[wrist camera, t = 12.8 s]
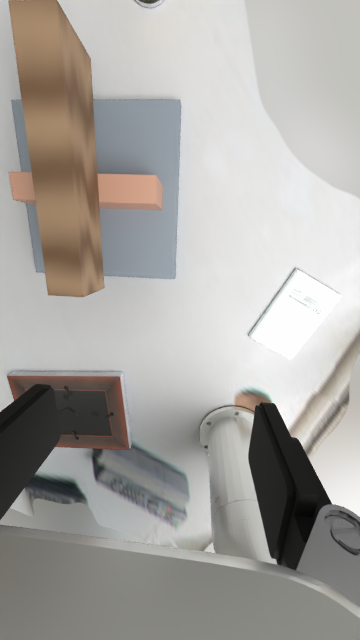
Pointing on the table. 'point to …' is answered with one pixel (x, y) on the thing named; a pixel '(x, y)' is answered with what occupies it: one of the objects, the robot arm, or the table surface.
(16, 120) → the ridge board
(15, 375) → the picture frame
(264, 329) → the external hard drive
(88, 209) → the walnut beam
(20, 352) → the table surface
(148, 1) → the supplement bottle
